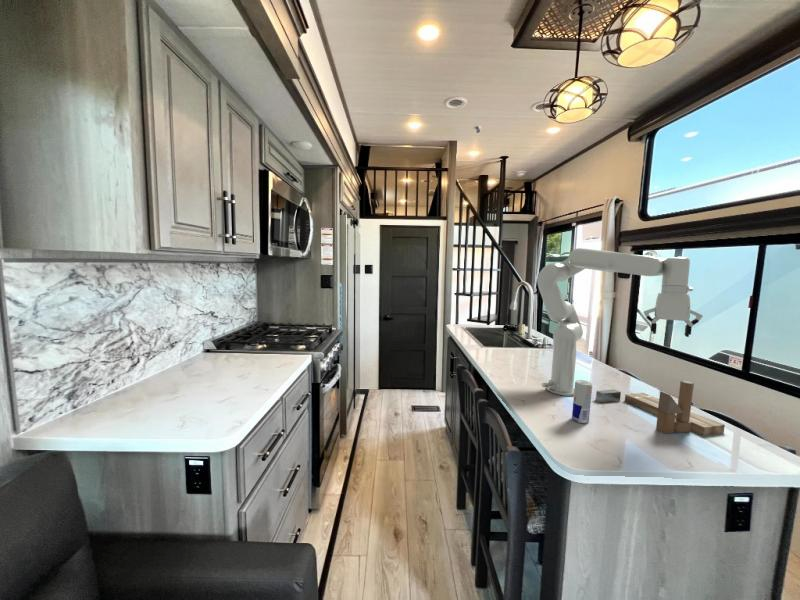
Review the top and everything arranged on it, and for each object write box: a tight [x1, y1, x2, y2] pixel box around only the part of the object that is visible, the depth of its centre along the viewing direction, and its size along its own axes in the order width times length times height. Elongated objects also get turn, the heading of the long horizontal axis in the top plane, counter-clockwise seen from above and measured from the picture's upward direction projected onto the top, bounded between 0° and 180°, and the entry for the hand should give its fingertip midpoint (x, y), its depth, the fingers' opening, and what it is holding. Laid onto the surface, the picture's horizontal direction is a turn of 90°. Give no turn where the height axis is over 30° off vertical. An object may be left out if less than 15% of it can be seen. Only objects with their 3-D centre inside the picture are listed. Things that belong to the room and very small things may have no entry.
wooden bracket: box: [655, 380, 695, 434], centre depth 116 cm, size 4×11×18 cm, turn 99°
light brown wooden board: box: [624, 392, 726, 437], centre depth 130 cm, size 10×30×3 cm, turn 15°
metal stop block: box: [595, 389, 622, 403], centre depth 143 cm, size 10×3×4 cm, turn 105°
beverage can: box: [571, 379, 593, 424], centre depth 122 cm, size 6×6×15 cm
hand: (670, 334), depth 125 cm, fingers open, 9 cm apart
